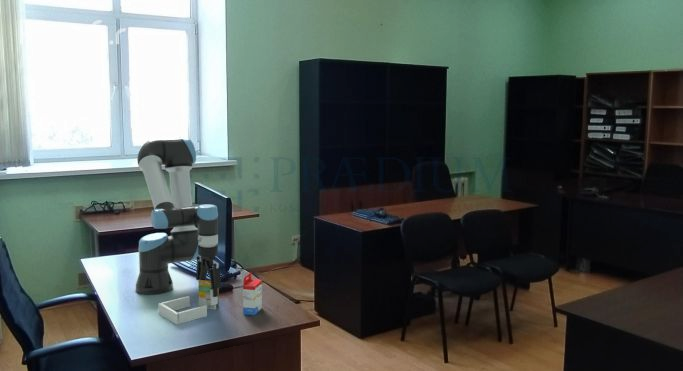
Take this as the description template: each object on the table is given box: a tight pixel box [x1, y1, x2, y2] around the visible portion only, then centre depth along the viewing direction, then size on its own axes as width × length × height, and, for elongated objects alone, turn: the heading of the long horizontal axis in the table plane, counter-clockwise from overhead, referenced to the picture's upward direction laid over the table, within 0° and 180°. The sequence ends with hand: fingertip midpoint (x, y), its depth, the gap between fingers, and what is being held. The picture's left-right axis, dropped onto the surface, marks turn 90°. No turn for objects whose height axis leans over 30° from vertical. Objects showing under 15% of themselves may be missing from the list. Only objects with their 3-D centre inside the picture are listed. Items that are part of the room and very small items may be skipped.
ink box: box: [242, 271, 263, 316], centre depth 224 cm, size 8×5×15 cm, turn 168°
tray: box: [157, 295, 208, 325], centre depth 220 cm, size 14×12×4 cm
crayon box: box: [197, 279, 220, 311], centre depth 227 cm, size 7×3×12 cm, turn 80°
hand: (208, 301), depth 227 cm, fingers closed on crayon box, 7 cm apart
